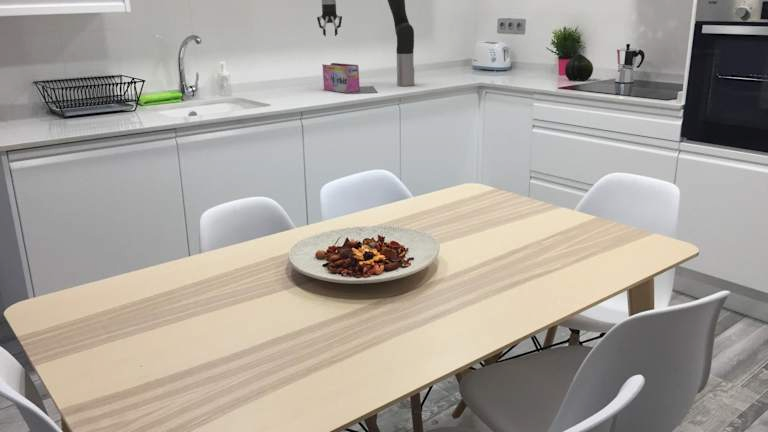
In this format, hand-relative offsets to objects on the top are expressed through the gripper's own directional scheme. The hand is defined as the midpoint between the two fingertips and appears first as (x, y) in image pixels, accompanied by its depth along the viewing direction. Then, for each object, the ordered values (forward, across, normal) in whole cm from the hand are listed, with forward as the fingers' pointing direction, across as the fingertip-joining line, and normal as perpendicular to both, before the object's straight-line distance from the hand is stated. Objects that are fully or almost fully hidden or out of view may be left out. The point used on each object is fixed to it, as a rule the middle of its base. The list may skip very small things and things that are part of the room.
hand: (330, 35), depth 372 cm
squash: (+28, -136, +13) cm, 139 cm away
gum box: (+27, -4, +19) cm, 34 cm away
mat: (+27, -16, +19) cm, 37 cm away
